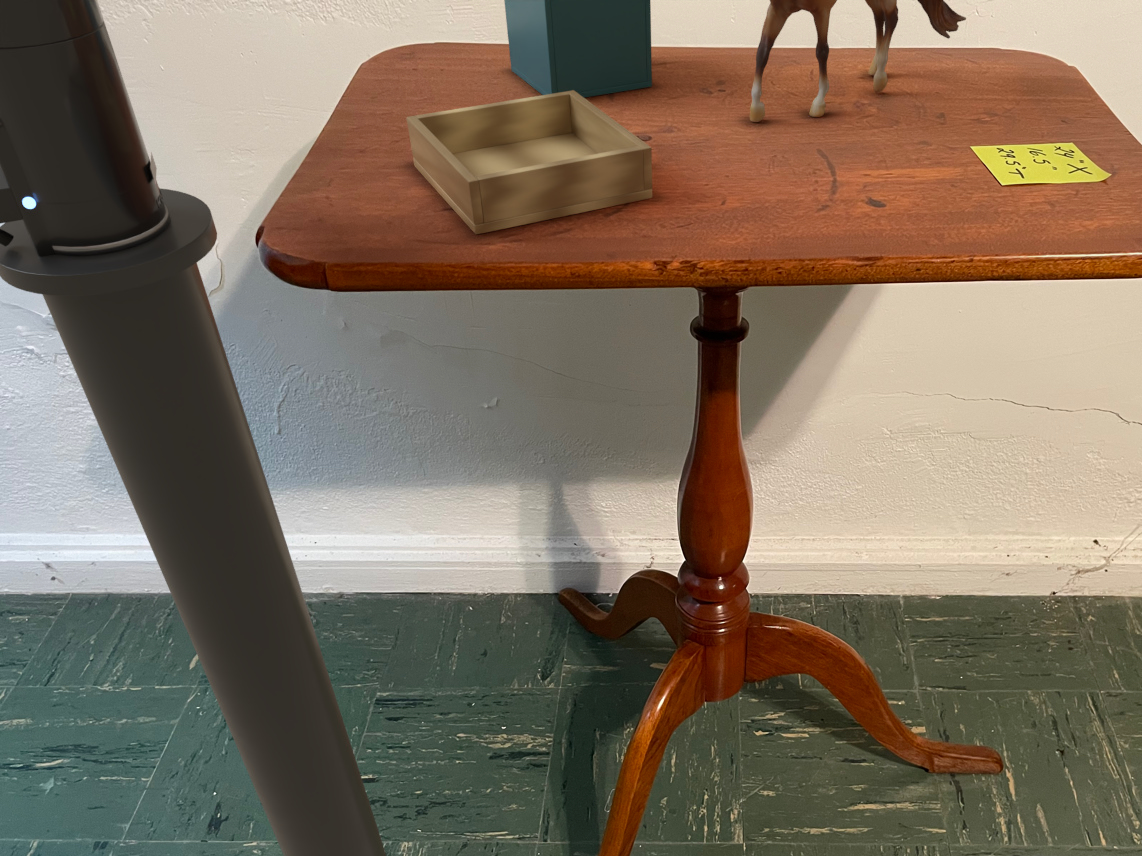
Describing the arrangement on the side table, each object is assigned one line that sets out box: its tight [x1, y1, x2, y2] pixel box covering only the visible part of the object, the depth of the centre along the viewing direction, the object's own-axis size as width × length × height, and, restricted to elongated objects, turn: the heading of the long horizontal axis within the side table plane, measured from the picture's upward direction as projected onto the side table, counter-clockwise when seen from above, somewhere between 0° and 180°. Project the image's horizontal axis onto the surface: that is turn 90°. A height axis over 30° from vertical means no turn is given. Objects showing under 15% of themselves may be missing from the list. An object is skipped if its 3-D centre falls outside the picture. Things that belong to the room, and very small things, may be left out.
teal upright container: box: [504, 0, 653, 99], centre depth 110 cm, size 11×11×11 cm
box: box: [405, 90, 653, 235], centre depth 91 cm, size 16×16×4 cm
